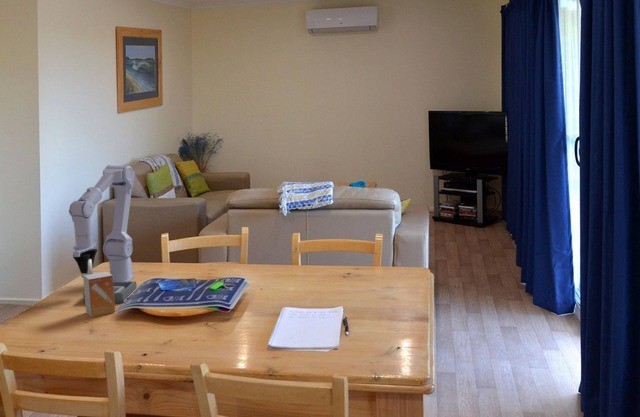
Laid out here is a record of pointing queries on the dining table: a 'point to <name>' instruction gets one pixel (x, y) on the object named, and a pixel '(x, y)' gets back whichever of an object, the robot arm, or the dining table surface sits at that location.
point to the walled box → (121, 290)
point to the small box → (99, 293)
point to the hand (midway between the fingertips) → (86, 271)
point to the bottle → (89, 268)
